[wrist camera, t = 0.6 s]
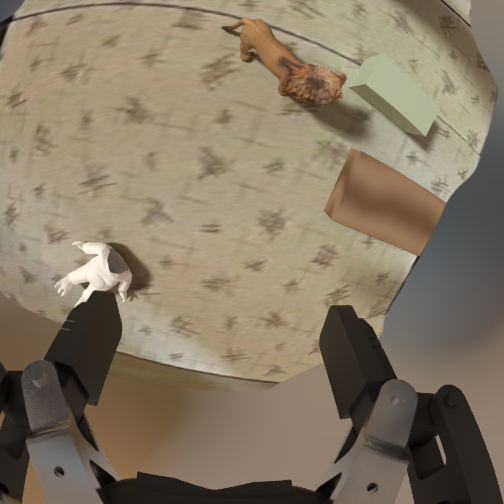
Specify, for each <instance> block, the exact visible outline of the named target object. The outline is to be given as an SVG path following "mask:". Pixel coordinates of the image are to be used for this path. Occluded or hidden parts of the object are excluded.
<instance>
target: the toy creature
mask: <svg viewBox="0 0 504 504" xmlns="http://www.w3.org/2000/svg"><path fill="white" fill-rule="evenodd" d="M74 244H75V245H77V246H78V247H79V248H80V249H82V250H84V252H85V253H87V254H99V255H98V256H97V257H94V258H92V259H91V260H90V262H88V263H87V264H85V265H84V266H82V267H79V268H78V269H76V270H75V271H72V272H71V273H69V274H68V275H67V276H66V277H65V278H63V279H61V280H60V281H58V282H57V283H56V285H55V288H60V289H59V290H58V293H61V292H63V293H62V296H64V295H66V294H67V292H68V291H69V290H70V289H71V288H72V287H73V285H77V284H80V283H83V282H88V281H89V283H90V285H89V286H88V288H87V289H85V290H84V291H83V295H82V297H81V298H80V299H79V301H78V302H77V303H76V305H75V307H76V306H77V305H78V304H80V303H81V302H86V301H87V299H88V298H89V296H90V295H91V293H92V292H93V291H94V290H100V291H107V290H109V289H111V288H112V287H113V286H114V285H116V284H117V283H118V282H120V284H119V286H118V291H119V292H120V295H121V296H122V297H123V298H122V299H124V300H123V301H122V302H124V301H126V298H127V292H126V291H127V290H128V288H129V286H130V284H131V281H132V274H131V272H130V269H129V267H128V265H127V264H126V262H125V261H124V259H123V258H122V257H121V256H120V254H118V253H117V252H116V251H115V250H114V249H113V248H112V247H111V246H109V245H107V244H105V243H103V242H95V243H93V242H87V243H84V242H82V241H78V242H74V243H73V244H72V245H74ZM109 270H110V271H109Z"/></svg>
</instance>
